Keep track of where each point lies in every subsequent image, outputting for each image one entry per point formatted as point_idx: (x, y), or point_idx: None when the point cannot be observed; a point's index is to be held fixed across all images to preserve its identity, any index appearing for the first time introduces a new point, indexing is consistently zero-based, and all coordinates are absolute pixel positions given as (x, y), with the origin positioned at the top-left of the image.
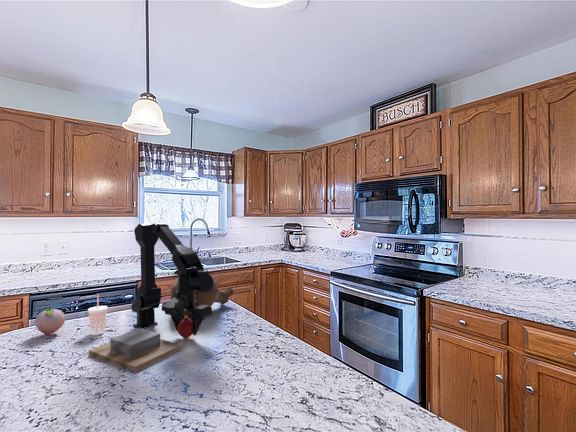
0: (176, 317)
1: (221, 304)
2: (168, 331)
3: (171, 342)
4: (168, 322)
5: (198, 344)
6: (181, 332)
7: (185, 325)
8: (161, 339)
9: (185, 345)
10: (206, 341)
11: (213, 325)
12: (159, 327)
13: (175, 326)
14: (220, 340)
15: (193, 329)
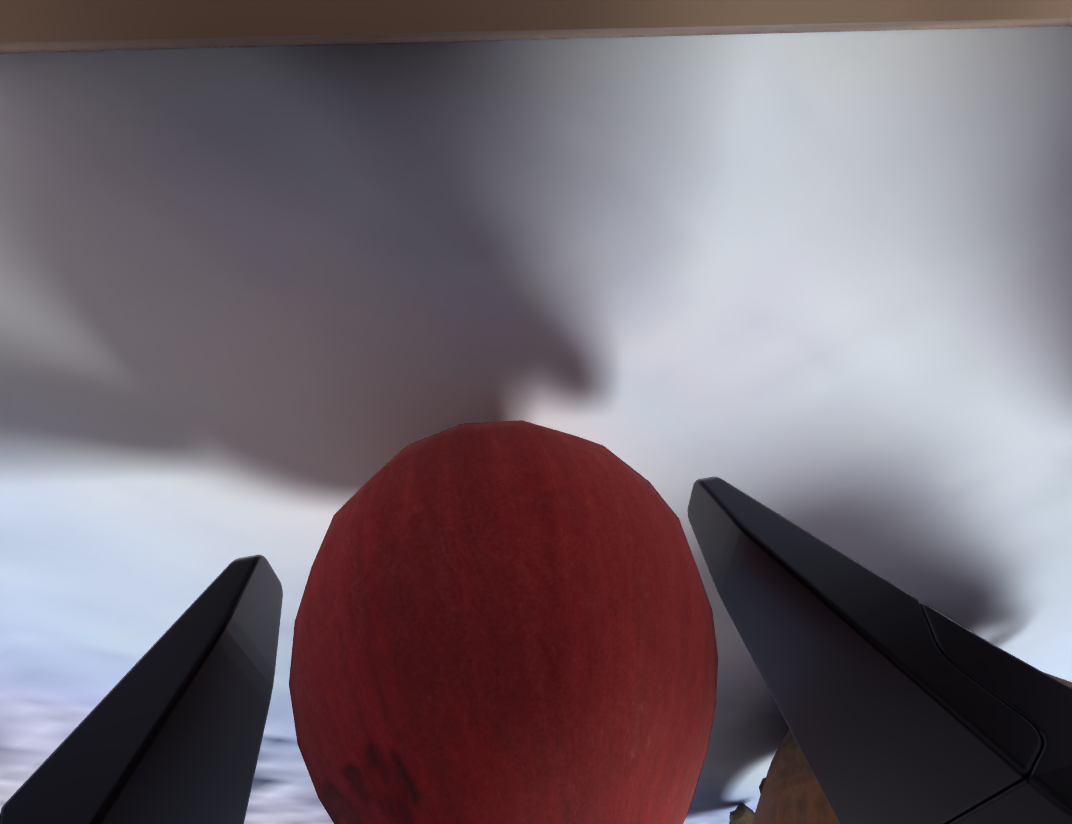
0: (958, 789)
1: (743, 811)
2: (890, 445)
3: (334, 5)
4: (993, 549)
5: (72, 452)
6: (434, 464)
7: (367, 709)
8: (792, 17)
9: (204, 292)
10: (127, 566)
11: None
12: (1053, 445)
13: (789, 532)
14: (23, 669)
15: (149, 688)
